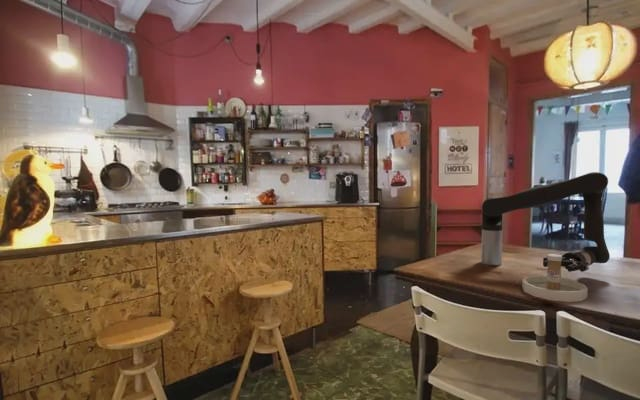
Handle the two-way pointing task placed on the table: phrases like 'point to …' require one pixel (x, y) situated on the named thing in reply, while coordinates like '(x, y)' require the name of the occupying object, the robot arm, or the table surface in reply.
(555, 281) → the sprinkles bottle
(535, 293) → the bowl
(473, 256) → the table surface
